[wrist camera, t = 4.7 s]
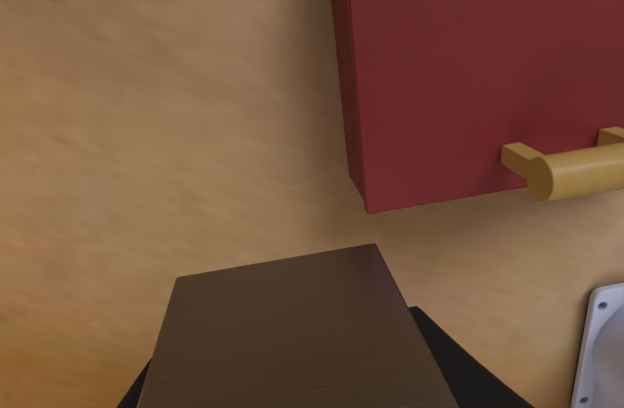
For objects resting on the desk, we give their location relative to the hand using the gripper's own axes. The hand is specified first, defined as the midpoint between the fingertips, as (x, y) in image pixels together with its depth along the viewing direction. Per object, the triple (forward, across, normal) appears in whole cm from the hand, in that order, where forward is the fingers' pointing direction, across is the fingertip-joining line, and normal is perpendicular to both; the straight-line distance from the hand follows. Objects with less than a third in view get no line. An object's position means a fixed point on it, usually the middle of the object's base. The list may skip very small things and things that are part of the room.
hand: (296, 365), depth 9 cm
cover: (+7, -10, -4) cm, 13 cm away
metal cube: (+1, 0, 0) cm, 1 cm away
